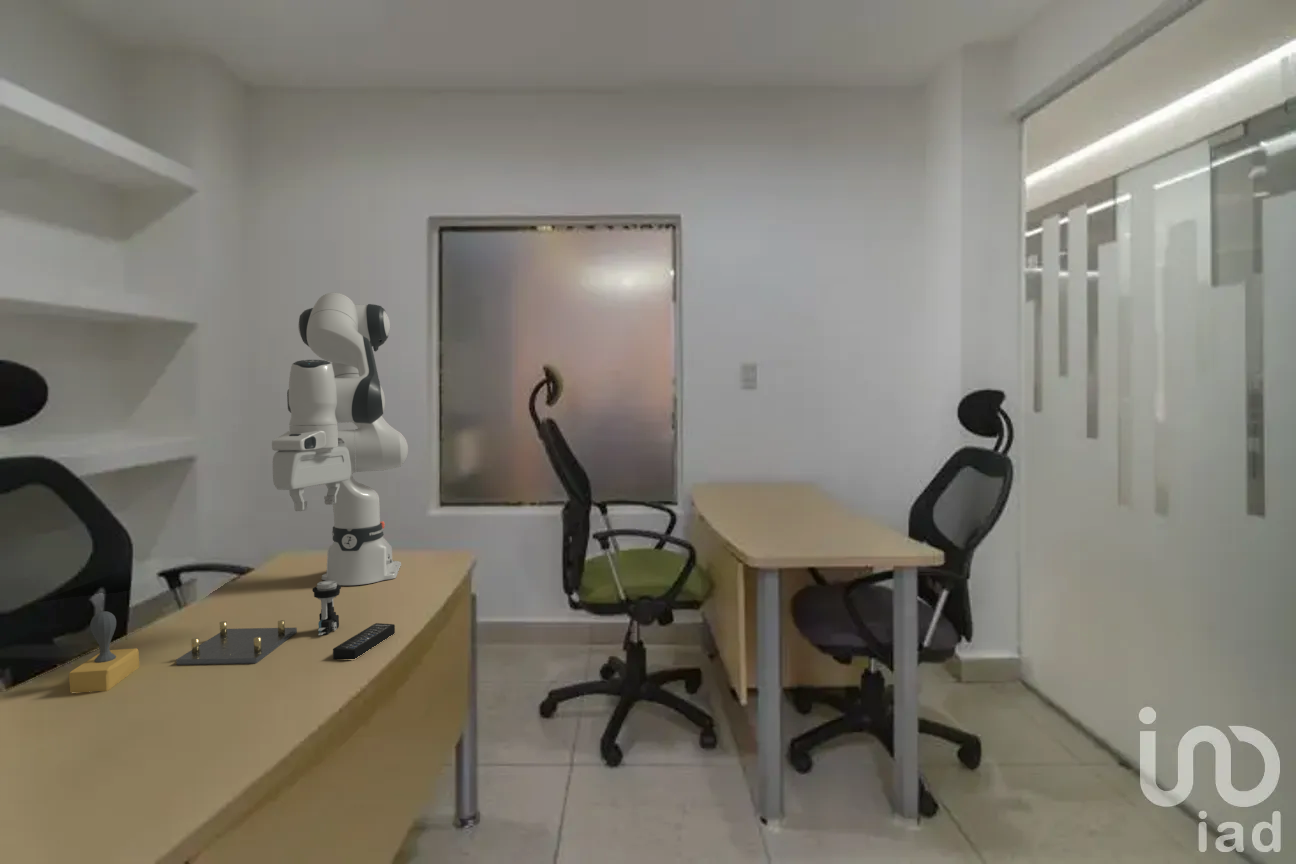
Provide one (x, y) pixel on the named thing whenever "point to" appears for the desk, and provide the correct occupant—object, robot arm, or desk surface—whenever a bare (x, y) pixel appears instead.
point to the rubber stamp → (104, 660)
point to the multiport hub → (363, 641)
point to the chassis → (237, 645)
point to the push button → (327, 605)
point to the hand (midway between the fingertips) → (316, 507)
